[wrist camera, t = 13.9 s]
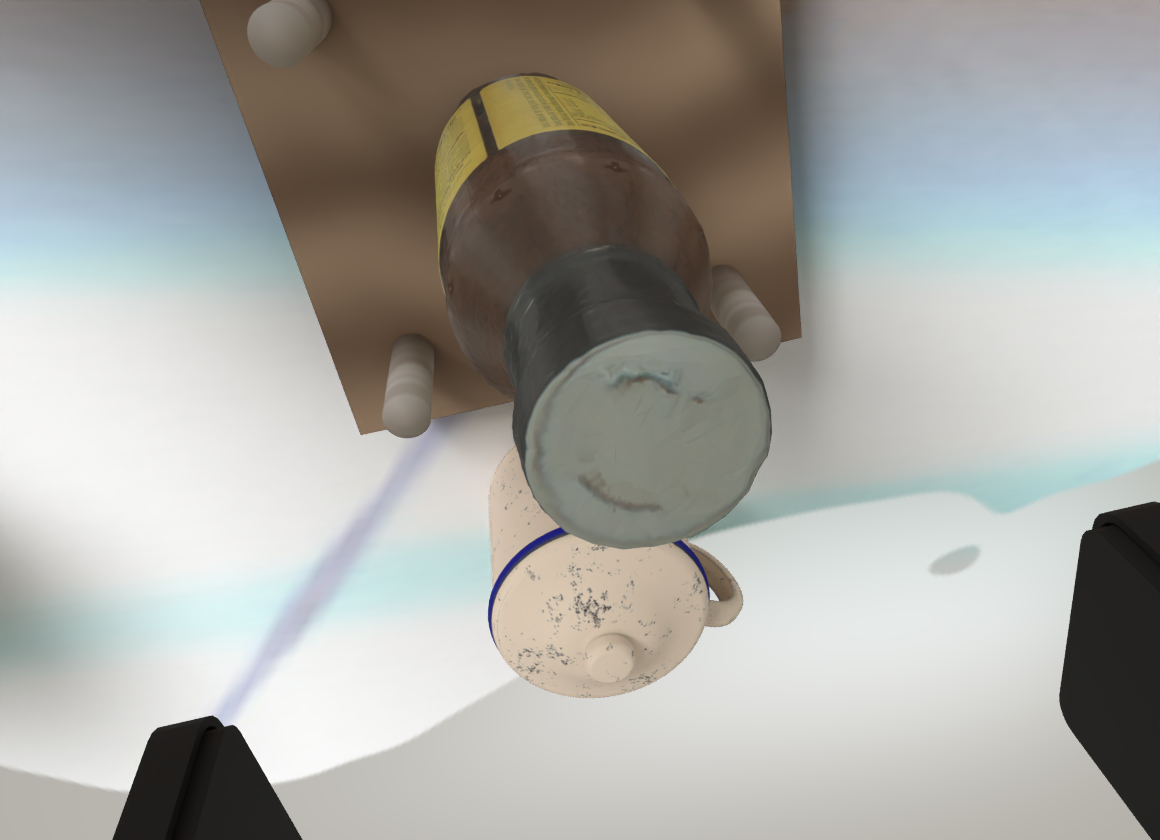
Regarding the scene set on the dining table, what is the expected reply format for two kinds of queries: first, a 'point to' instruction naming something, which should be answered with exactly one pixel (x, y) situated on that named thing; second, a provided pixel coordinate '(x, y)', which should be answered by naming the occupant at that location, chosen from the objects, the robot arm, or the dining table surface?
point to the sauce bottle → (593, 316)
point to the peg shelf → (420, 114)
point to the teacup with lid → (593, 599)
